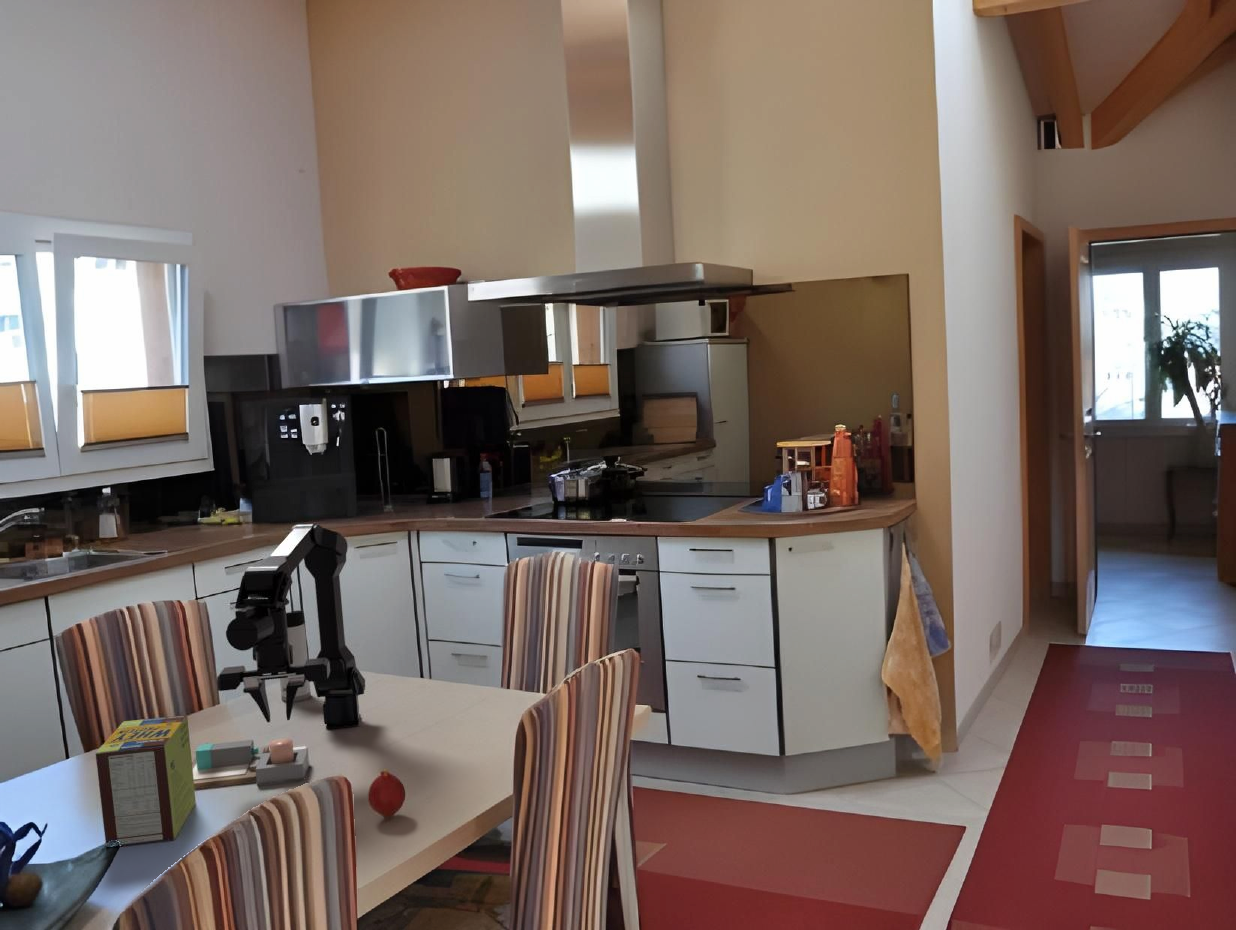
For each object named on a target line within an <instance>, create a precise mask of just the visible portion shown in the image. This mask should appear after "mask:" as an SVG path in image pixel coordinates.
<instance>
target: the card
mask: <svg viewBox="0 0 1236 930" xmlns="http://www.w3.org/2000/svg"><path fill="white" fill-rule="evenodd" d="M298 749H307V745H305V746H296V747H295V746H293V750H298Z"/></svg>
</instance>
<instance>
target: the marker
mask: <svg viewBox="0 0 1236 930" xmlns="http://www.w3.org/2000/svg"><path fill="white" fill-rule="evenodd" d="M254 747H255V745H254V739H247V740H244V739H243V740H237V741H229V742H218V743H213V742H212V743H204V744H199V745H198V747H197V748H196V750H195V758H196V761H197V770H202V769H211V768H219V767H228V766H236V765H245V764H251V763H252V761H253V759H254V756H255V755H256V754H259V748H254Z"/></svg>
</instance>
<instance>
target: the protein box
mask: <svg viewBox="0 0 1236 930" xmlns="http://www.w3.org/2000/svg"><path fill="white" fill-rule="evenodd" d="M189 730H190V729H189V719H188V715H187V714H181V715H174V716H165V717H155V718H146V719H137V720H125V721H122V722H121V724H120V725H118V728H116V729H115V731H114V732H113V733H112V734H111V735H110V736H109V737H108V738H107V740H105V742H104V743H102V745H101V746H100V747H99V749H97V751H96V752H95V760H96V768H97V778H98V787H99V797H100V806H101V814H102V823H103V832H104V839H105V844H106V843H108V842H109V841H111V840H117V841H119V842H120V845H121V847H127V846H134V845H135V846H137V845H143V844H144V845H145V844H152V843H160V842H169V841H174V840H175V839H176V838H177V835H178V834H179V833H180V831H181V829H182V827H183V826H184V824H185V821H186V820H187V819H188V817H189V815H190V814H191V812H192V810H193V808H194V807H195V804H196V793H195V790H196V789H194V779H193V768H192V762H193V761H192V760H193V759H192V748H191V740H190V731H189Z"/></svg>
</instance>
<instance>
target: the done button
mask: <svg viewBox="0 0 1236 930" xmlns="http://www.w3.org/2000/svg"><path fill="white" fill-rule="evenodd" d="M268 746H269V753H270V759H271V765H272V764H281V763H290V762H294V753H293V748H294V743H293V739H291V738H278V739H274V740H273V741H270V742H269V744H268Z"/></svg>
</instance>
